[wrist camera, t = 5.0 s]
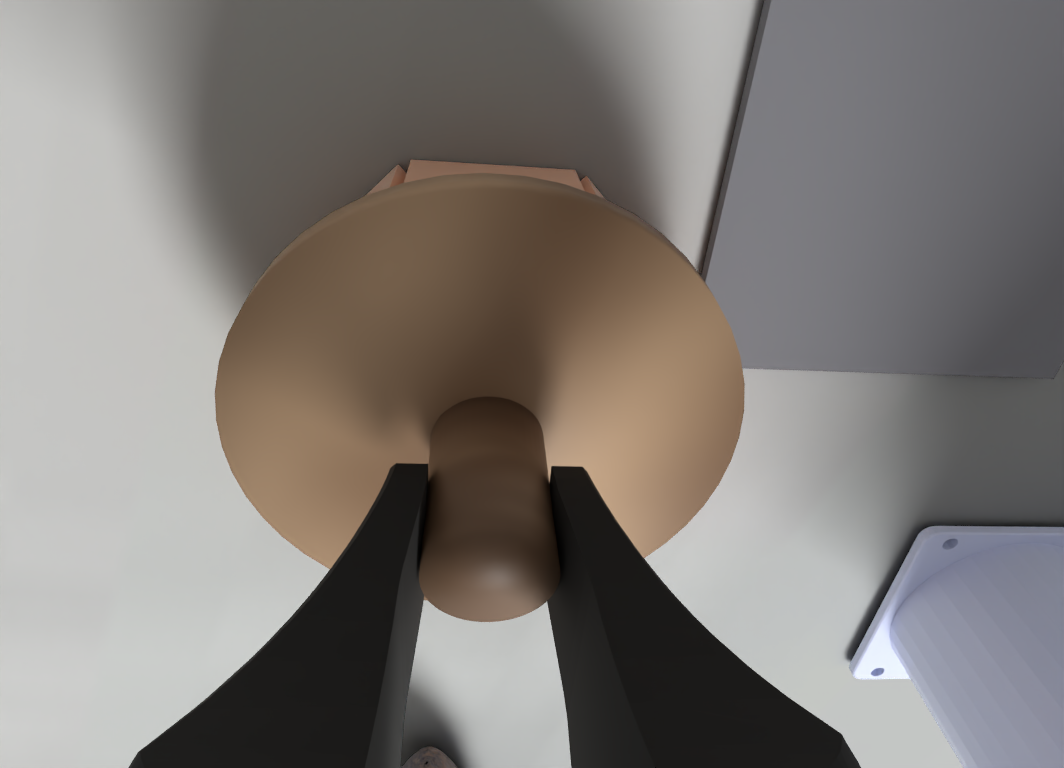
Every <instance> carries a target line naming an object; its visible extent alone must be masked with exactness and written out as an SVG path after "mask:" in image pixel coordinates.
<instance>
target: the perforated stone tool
mask: <svg viewBox="0 0 1064 768" xmlns="http://www.w3.org/2000/svg"><path fill="white" fill-rule="evenodd" d="M402 768H457V767H456V765H455V764H454V763H453V761H451V759H450V758H449V757H448V756H447V755H445V754H444V753H443V752H442V751H441V750H439V749H437V748H435V747H431V746H428V747H423V748H421V749H420V750H419V751H418V752H416V753H414V754H413V755H412V756H411V757H410V758H409V759H408V760H407V761H406V763H405V764H404V765H403V766H402Z"/></svg>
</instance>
